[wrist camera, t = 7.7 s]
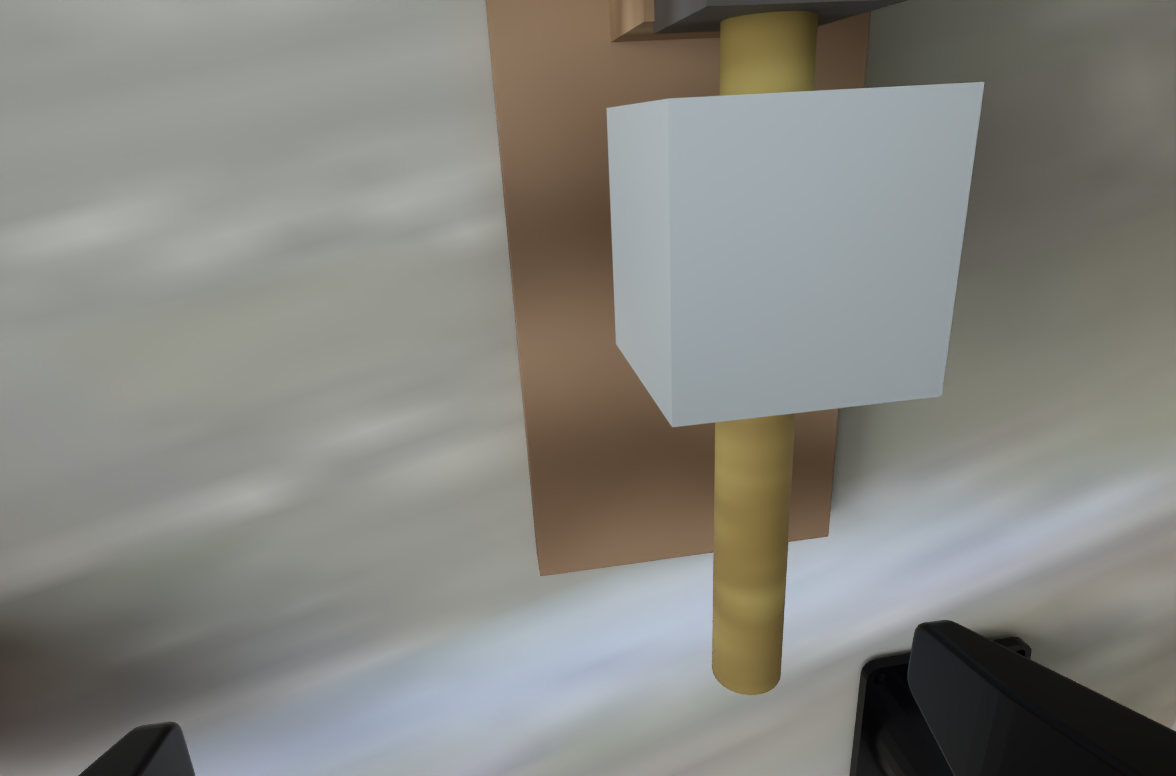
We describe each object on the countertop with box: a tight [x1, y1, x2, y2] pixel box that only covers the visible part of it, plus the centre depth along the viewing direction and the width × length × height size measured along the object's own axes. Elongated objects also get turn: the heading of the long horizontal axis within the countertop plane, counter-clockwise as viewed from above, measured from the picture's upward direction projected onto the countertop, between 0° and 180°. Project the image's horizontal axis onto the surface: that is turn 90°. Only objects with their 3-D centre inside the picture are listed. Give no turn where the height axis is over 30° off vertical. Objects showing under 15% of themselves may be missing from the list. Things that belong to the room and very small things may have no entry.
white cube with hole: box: [606, 82, 984, 427], centre depth 13 cm, size 5×5×5 cm
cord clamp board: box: [486, 0, 906, 695], centre depth 16 cm, size 18×9×8 cm, turn 3°
